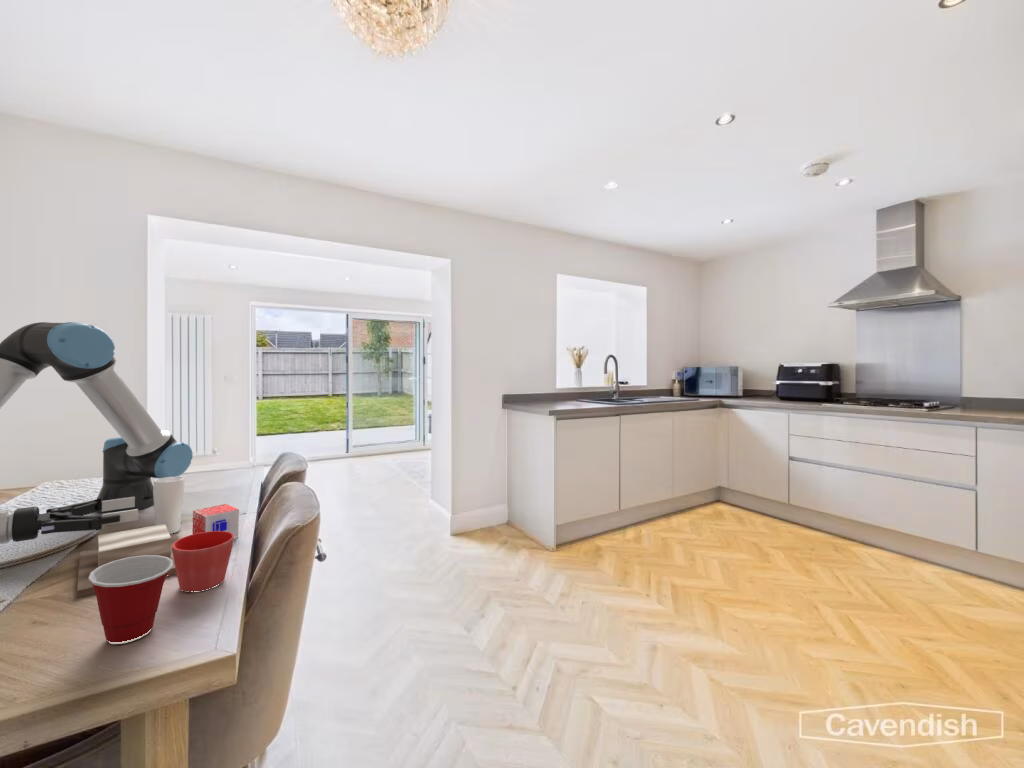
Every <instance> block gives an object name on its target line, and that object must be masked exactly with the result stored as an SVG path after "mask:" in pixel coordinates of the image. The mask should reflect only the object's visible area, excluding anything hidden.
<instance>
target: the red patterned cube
mask: <svg viewBox="0 0 1024 768" xmlns="http://www.w3.org/2000/svg"><path fill="white" fill-rule="evenodd" d="M239 521H240V509H239V508H237V507H235V506H232V505H229V504H227V503H224V504H219V505H214V506H209V507H203V508H199V509H195V510H192V534H191V535H193V534H197V533H202V532H209V531H226V532H231V533H232V534H233V535H234V539H237V538H239V525H240V523H239Z"/></svg>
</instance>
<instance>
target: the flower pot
mask: <svg viewBox="0 0 1024 768" xmlns="http://www.w3.org/2000/svg"><path fill="white" fill-rule="evenodd" d="M234 541H235V538H234V535H233V534H232V533H231V532H226V531H209V532H202V533H197V534H193V535H192V534H188V535H186V536H184V537H181V538H179V540H177V541H176V542H174V543H173V545H172V551H173V557H174V563H175V569H176V574H175V575H176V578H177V582H178V586H179V590H180V589H181V590H183V591H189V592H191V591H193V592H194V591H202V590H206V589H209V588H212V587H214V586H216V585H218V584H220V583H221V582H222V581H223V580H224V581H225V579H226V573H227V572H228V570H227V569H228V567H229V562H230V557H231V554H232V553H231V552H232V549H233V545H234ZM224 581H223V582H224ZM223 582H222V583H223ZM222 583H221V584H222ZM221 584H220V585H221ZM181 590H180V591H181ZM183 591H182V592H183Z"/></svg>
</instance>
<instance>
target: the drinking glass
mask: <svg viewBox="0 0 1024 768" xmlns="http://www.w3.org/2000/svg"><path fill="white" fill-rule="evenodd" d="M185 487H186V485H185V477H183V476H178V477H165V478H160V479H159V478H155V479H154V480H153V500H154V505H153V509H154V522H155V525H161V524H165V525H166V527H167V530H168V532H169V534H170V535H171V534H173V533H174V534H177V533H178V532H179V531H180V530H181V521H182V515H183V514H182V513H183V506H184V498H185Z"/></svg>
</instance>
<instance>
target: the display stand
mask: <svg viewBox="0 0 1024 768" xmlns="http://www.w3.org/2000/svg"><path fill="white" fill-rule="evenodd" d="M97 539H98V542H97V544H98V545H97V548H92V549H88V550H83V551H80V552H79V561H78V575H77V587H76V588H77V589H76V598H77V599H79V598H83V597H84V598H85V597H88V596H92V595H95V590H94V589H93V585H92V583H91V582H90V581H89V576H90V573H91V572H92V571H94V570H95V569H97V568H98V567H100V566H102V565H105V564H107V563H110V562H112V561H116V560H120V559H124V558H128V557H135V556H143V555H158V556H164V557H168V558H170V559H171V560H173V566H172V568H171V569H170V570H169V572H168V574H167V575H170V576H172V575H171V574H174V575H177V574H176V569H175V563H174V557H173V551H172V545H173V543H174V542H176V541H177V540H179V539H180V538H179V536H178V534H177V533H174V534H169V532H168V530H167V527H166V525H165V524H161V525H156V524H155V525H150V526H145V527H139V528H134V529H128V530H126V529H125V530H123V531H122V530H121V531H117V532H116V531H115V532H110V533H109V532H108V533H103V534H99V535H98V538H97ZM91 594H92V595H91ZM87 595H88V596H87Z"/></svg>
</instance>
